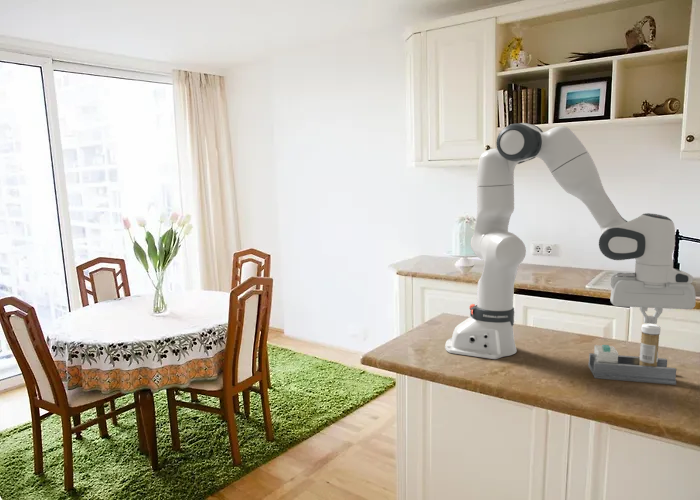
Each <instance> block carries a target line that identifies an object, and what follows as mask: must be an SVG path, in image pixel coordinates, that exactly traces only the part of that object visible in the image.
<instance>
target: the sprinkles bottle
mask: <svg viewBox="0 0 700 500" xmlns="http://www.w3.org/2000/svg"><path fill="white" fill-rule="evenodd" d="M640 331H641V339H640V349H639V357H640V364H639V365H642V366H655V367H657V362H658V358H659V347H660V345H659V344H660V343H659V341H660V335H661V327H660V325H657V324H651V323H642V325H641V329H640Z"/></svg>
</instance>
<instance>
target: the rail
mask: <svg viewBox="0 0 700 500" xmlns="http://www.w3.org/2000/svg"><path fill="white" fill-rule="evenodd" d="M593 348H594V351H593V353H591V352H590V353H589V355H588V364H587V365H588V366H587V367H588V368H589V370H590V372H591V373H592V376H593V378H594V379H600V380H611V381H612V380H613V381H614V380H615V381H627V382H636V383H650V384H660V385H663V384H664V385H672V386H673V385H675V386H677V380H676V377H677V369H676V367H668V359H667V358H665V357H664V358H663V357H662V358H661V357H658V362H657V367H655V366H642V365H639V364H640V356H633V355H622V354H621V355H619V352H618V351H617V349H616V347H614V345H609V344H602V345H601V344H600V345H599V344H594V347H593Z"/></svg>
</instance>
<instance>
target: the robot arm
mask: <svg viewBox="0 0 700 500" xmlns="http://www.w3.org/2000/svg"><path fill="white" fill-rule="evenodd" d="M495 142H496V143H495V144H496V148H490V149H487V150H485V151H483V152H482V153H481V154H480V156H479V158H478V163H477V172H476V203H477V204H476V205H477V207H476V210H477V211H476V219H475V225H474V229H473V235H472V236H471V238H470V248H471V250H472V251H473V254H475V255H476V257H477V258H478V259H481V260H482V261H483V262H484V264H483V268H482V273H481V276H480V278H479V279H478V281H477V296H476V297H477V298H476V299H477V301H476V302H477V303H476V305H475V303H471V304H470V305H469V311H470V313H469V315H470V316H469V317H467V318H466V319H465V320H463V321H462V322H460V323H459V324H457V325H456V326H455V328H454V329H453V332H452V335H451V336H452V337H449V338H448V339H447V340H446V342H445V343H444V344H445V345H444V349H445V350H446V352H448V353H450V354H456V355H463V356H469V357H478V358H484V359H492V360H499V359H500V358H503V357H509V356H512V355H514V354H516V353H517V352H518V351H517V346H516V341H515V335H514V324H515V308H514V292H515V291H514V290H515V282H516V276H517V273H518V270H519V267H520V265H521V263H522V262H523V261H524V259H525V257H526V255H527V254H526V253H527V251H526V250H527V247H526V245H525V243H524V242H523V240H522V239H520V238H519V236H517V235H516V234H515V233H513V232H509V224H510V220H511V217H512V214H513V213H514V210H515V182H514V181H515V180H514V179H515V178H514V177H515V176H514V175H515V173H514V172H515V169H516V167H517V165H520V164H522V163H525V162H528V161H532V160H533V159H535V158H539V159H540V160H542V161H543V163H544V164H545V165H546V166H547V168H548V170H549V171H550V173H551V175H552V177H553V178H554V180H555V181H556V182H557V183H558V185H559V186H560V187H561V188H562V189H563V190H564V191H565V192H566V193H568V194H570V195H571V196H573V197H575V198H577V199H578V200H579V201H581V202H582V203H583V204H584V205H585V206H586V207H587V209H588V210H589V212H590V214H591V216H592V217H593V219H594V220H595V222H596V223H597V224H598V226H599V228H600V231H601V235H600V237H599V239H598V248H599V251H600V252H601V253H602V255H604V257H606V258H608V259H610V260H612V261H613V260H614V261H625V260H632V259H633V260H634V259H635V263H634V264H635V265H634V267H635V268H634V272H626V273H625V272H617V273H615V274H614V275H612V276H611V278H610V286H611V291H610V298H609V299H610V301H609V302H610V303H611V304H612V305H613V306H614V307H624V308H625V307H627V308H639V310H640V312H641V314H642V316H643V324H654V325H657V323H658V318H659V317H660V316H661V314H663V311H664V309H666V310H667V309H669V310H689V311H690V310H693V309H694V308H695V307H696V300H697V299H696V298H697V297H696V290H695V286H694V285H693V284H692V283H693V281H694V277H693V275H691V274H690V273H689V272H685V271H683V270H680V269H678V268H674V261H673V253H674V251H675V246H676V230H675V229H676V228H675V223H674V222H673V220H672V219H671V218H669V217H668V216H666V215H662V214H656V213H648V212H647V213H643V214H641V215H640V216H638V217H636V218H633V219H631V220H629V221H628V220H626V219H625V218H623V216H622V214H620V212H619V211H618V209H617V208H616V205H614V203H613V202H612V200H611V199H610V197H609V196H608V194H607V193H606V190H605V188H604V186H603V183H602V180H601V177H600V174H599V171H598V168H597V166H596V164H595V161H594V160H593V158H592V156H591V155H590V152H589V151H588V149H587V148H586V146H585V145H584V144H583V142H582V141H581V139H579V137H577V135H576V134H575V132H573V131H572V130H571V129H570V128H568V127H567V126H565V125H564V126H563V125H560V126H559V125H558V126H554V127H552V128H550V129H548V130H546V131H543V130H542V129H541V128H540V127H539V126H537V125H535V124H531V123H529V122H528V123H527V122H520V123H511V124H509V125H507V126H505V127H504V128H503V129H501V131H499V133H498V135H497V137H496V141H495ZM648 308H649V309H650V308H651V309H654V311H655V312H654V313H653V315H648V314H647V313H646V312H648Z"/></svg>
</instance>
